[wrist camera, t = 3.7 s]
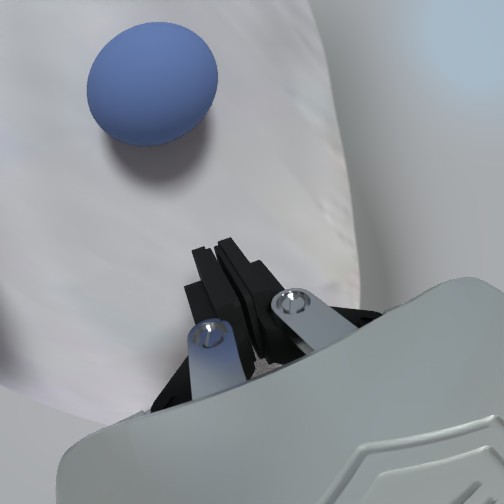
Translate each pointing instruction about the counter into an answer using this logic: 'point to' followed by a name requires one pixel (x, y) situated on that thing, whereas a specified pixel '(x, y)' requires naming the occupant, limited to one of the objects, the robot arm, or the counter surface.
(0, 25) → the counter surface
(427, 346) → the robot arm
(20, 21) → the counter surface
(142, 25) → the ball
